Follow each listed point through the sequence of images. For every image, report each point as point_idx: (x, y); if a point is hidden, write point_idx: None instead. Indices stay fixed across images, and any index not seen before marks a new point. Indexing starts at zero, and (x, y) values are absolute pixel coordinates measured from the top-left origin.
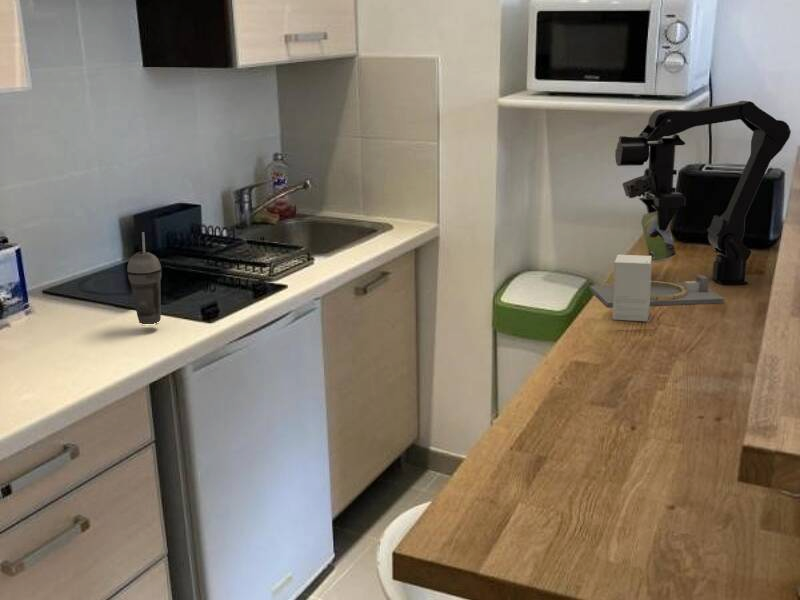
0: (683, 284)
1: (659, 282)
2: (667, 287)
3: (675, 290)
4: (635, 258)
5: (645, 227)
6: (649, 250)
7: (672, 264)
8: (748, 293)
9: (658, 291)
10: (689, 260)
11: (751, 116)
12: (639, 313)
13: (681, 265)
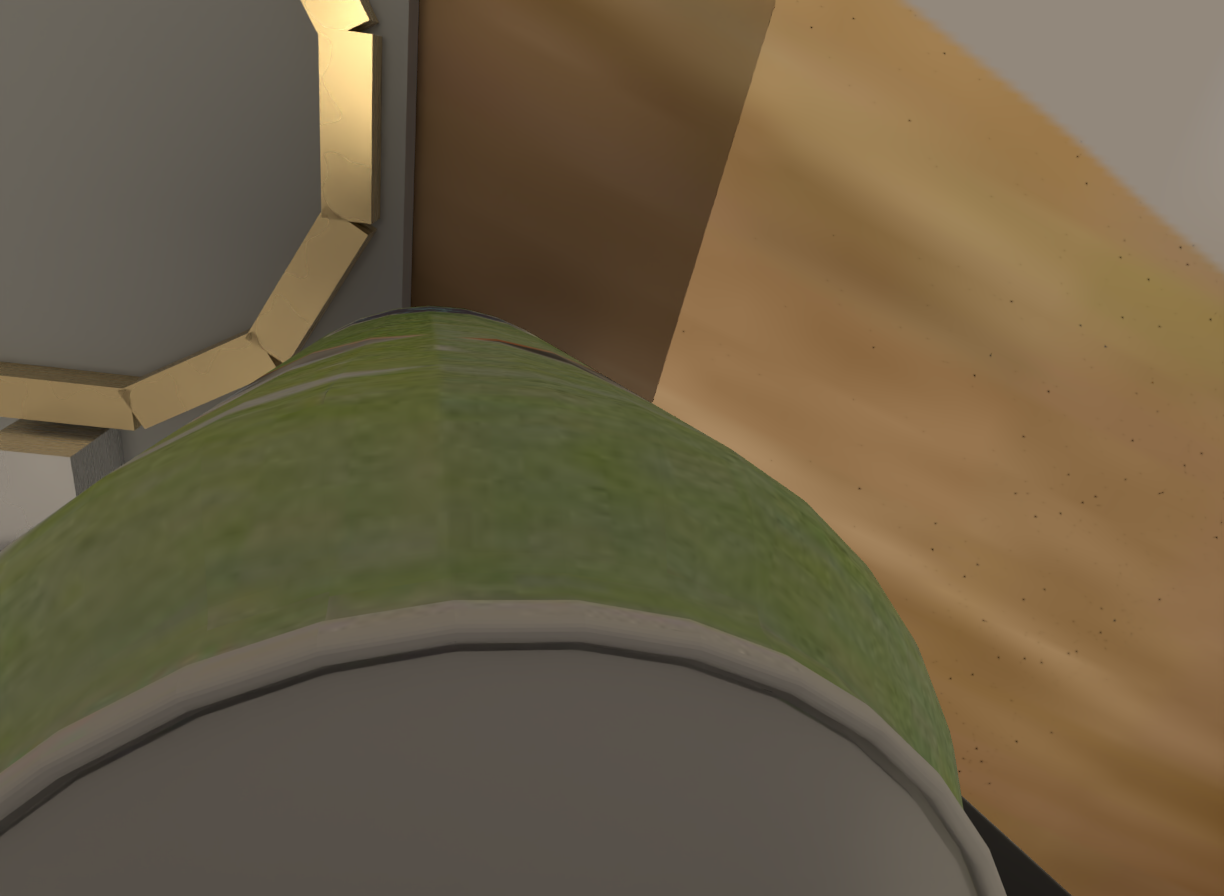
0: None
1: (286, 275)
2: (216, 314)
3: (93, 337)
4: None
5: (304, 374)
6: (408, 314)
7: (1113, 746)
8: None
9: (51, 143)
10: (1150, 886)
11: None
12: None
13: (1049, 786)
